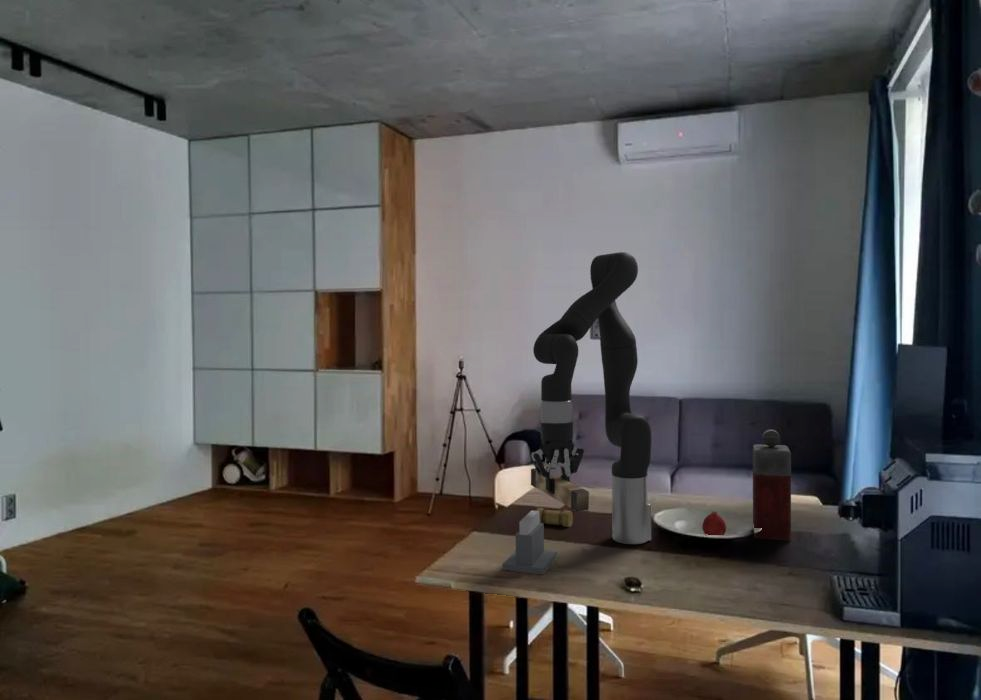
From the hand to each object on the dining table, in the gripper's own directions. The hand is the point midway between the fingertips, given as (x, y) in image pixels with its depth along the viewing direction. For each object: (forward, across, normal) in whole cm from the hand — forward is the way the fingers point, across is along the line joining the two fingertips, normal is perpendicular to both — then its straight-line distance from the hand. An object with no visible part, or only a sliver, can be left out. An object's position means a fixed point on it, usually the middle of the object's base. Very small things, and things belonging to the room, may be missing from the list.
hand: (557, 492), depth 161 cm
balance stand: (+18, +5, -5) cm, 19 cm away
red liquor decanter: (+18, -63, +3) cm, 66 cm away
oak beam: (+1, 0, 0) cm, 1 cm away
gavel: (+19, -22, -36) cm, 46 cm away
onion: (+18, -46, +2) cm, 49 cm away
